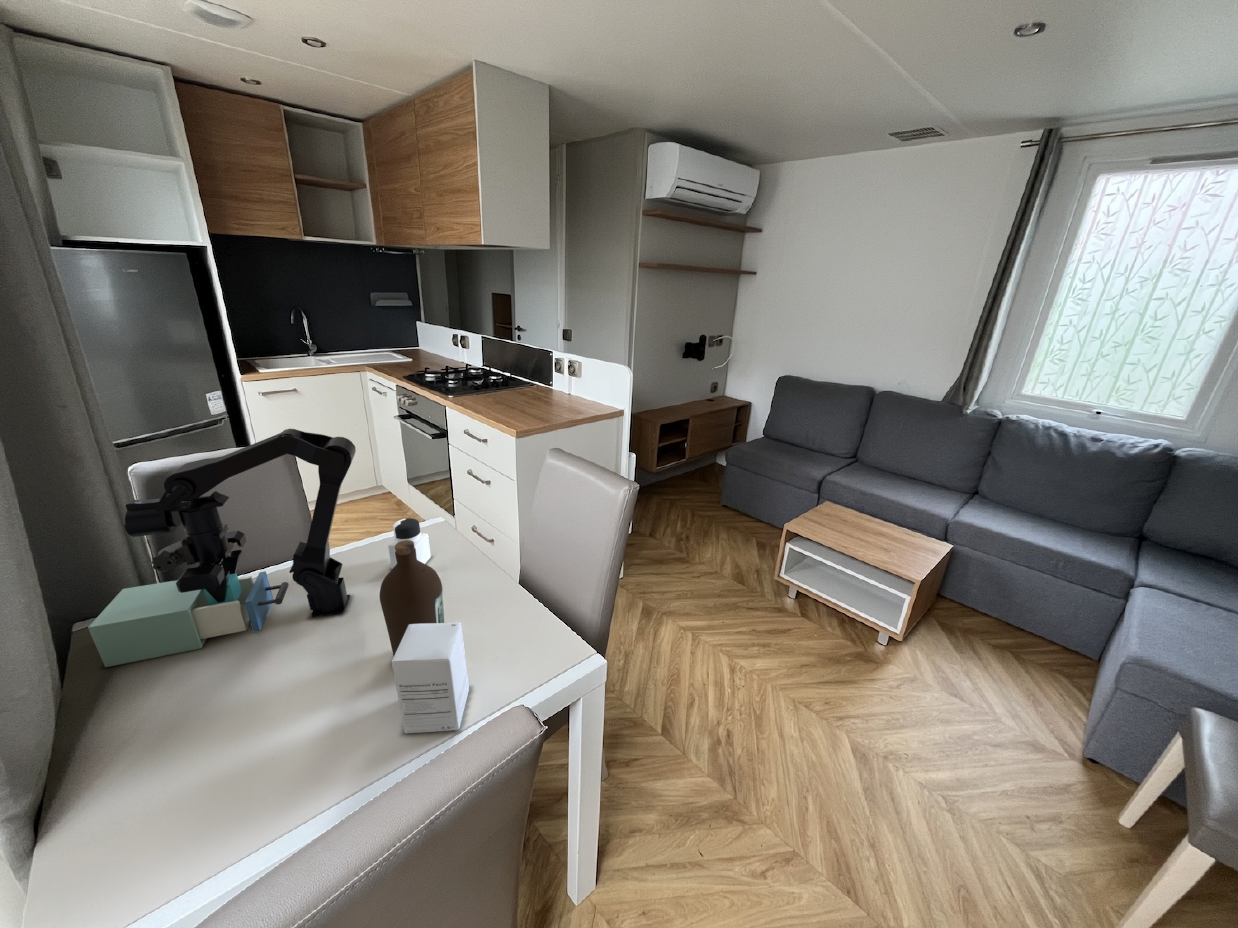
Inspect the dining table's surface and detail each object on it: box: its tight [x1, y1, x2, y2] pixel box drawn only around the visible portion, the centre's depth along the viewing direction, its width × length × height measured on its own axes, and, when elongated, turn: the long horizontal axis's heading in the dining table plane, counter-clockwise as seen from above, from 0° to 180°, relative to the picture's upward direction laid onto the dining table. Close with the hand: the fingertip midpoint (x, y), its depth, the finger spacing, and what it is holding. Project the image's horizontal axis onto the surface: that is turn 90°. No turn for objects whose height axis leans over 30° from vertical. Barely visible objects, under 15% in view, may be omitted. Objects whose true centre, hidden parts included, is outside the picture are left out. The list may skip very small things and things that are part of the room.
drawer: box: [191, 570, 290, 639], centre depth 102 cm, size 18×11×7 cm, turn 112°
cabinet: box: [87, 579, 208, 668], centre depth 98 cm, size 15×13×9 cm
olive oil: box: [379, 540, 445, 658], centre depth 91 cm, size 11×11×25 cm
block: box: [203, 572, 242, 606], centre depth 101 cm, size 4×4×4 cm
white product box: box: [391, 621, 470, 734], centre depth 81 cm, size 9×9×15 cm
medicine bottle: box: [387, 517, 432, 570], centre depth 125 cm, size 7×7×12 cm
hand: (225, 594), depth 101 cm, fingers closed on block, 4 cm apart
